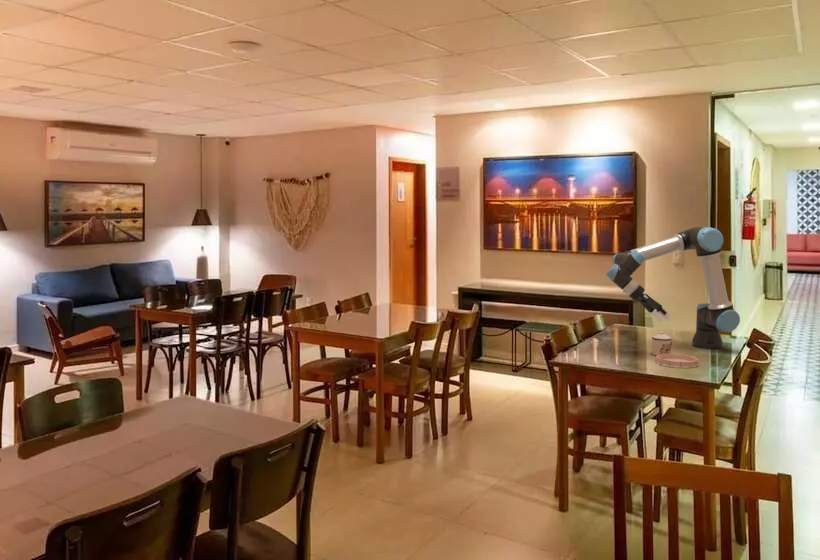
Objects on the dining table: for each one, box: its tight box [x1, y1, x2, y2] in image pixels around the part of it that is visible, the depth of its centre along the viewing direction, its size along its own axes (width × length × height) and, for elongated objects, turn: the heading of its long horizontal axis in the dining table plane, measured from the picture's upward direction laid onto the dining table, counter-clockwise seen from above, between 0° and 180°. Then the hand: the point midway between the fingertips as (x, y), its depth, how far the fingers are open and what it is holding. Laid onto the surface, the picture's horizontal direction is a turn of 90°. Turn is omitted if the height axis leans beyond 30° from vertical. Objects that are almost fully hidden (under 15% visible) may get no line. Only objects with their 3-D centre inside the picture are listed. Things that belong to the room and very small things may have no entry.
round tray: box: [655, 353, 699, 369], centre depth 313 cm, size 18×18×3 cm
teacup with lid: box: [651, 331, 674, 357], centre depth 333 cm, size 12×9×12 cm
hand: (667, 319), depth 329 cm, fingers open, 13 cm apart
